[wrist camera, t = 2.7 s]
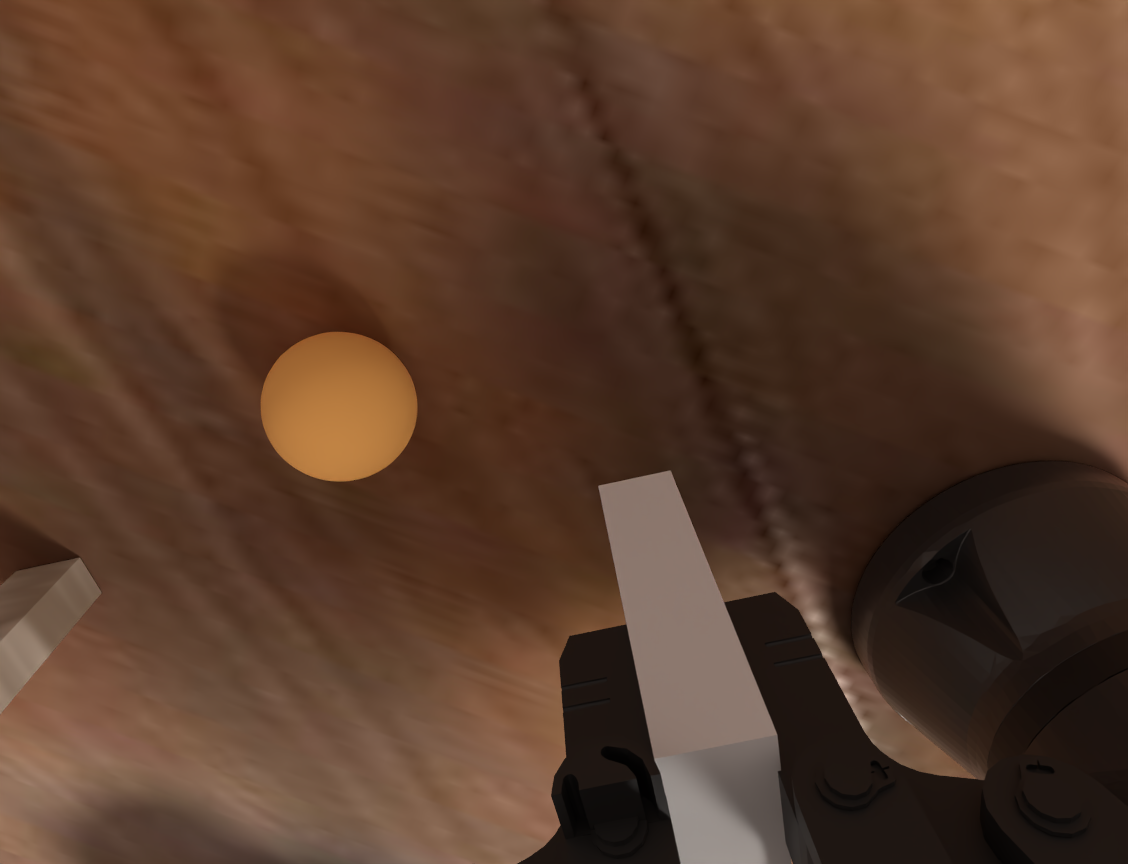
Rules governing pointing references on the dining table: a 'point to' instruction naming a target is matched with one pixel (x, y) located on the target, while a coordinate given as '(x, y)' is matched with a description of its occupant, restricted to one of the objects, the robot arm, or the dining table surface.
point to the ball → (339, 406)
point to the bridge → (39, 618)
